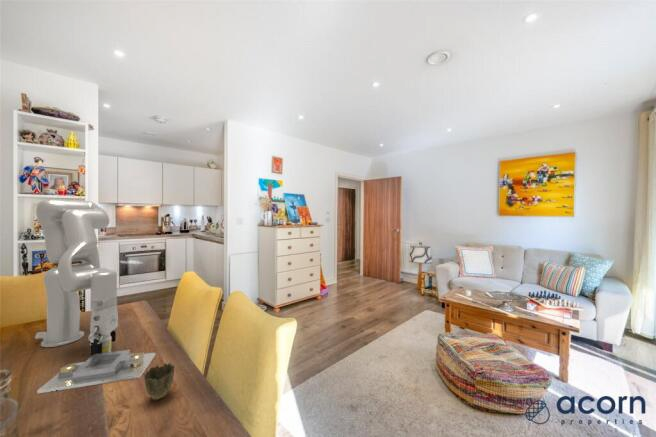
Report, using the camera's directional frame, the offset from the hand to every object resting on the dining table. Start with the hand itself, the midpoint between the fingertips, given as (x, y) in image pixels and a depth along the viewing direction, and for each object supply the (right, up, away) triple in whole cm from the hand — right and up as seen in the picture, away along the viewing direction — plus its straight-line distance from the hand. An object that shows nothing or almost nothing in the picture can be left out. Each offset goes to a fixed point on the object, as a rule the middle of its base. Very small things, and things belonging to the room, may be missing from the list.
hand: (103, 347), depth 95 cm
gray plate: (+9, -3, -10) cm, 14 cm away
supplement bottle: (0, -3, 0) cm, 3 cm away
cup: (+36, -3, -22) cm, 42 cm away
